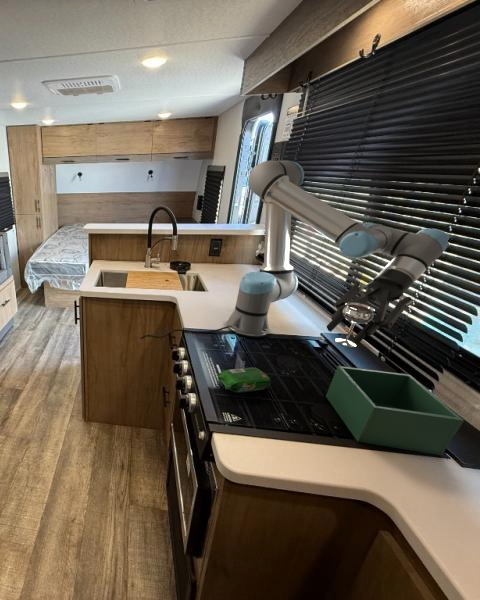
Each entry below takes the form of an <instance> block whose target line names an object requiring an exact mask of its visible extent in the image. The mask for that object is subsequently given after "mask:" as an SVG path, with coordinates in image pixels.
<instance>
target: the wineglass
mask: <svg viewBox="0 0 480 600" xmlns="http://www.w3.org/2000/svg"><path fill="white" fill-rule="evenodd" d="M376 311H377V310H376V308H375V307H373V306H372V305H370V304H366V303H363V304H362V303H357V302H350V301H349V302H347V303H346V307H344V309H343V316H344V317H345V318H344V319H345V320H346V321H348V322H349V323H350V327H349V330H348V332H347V335H346V338H341V337H337V338H335V342H336V343H337V344H339V345H341V346H344V347H349V348H356V347H357V343H355V341H352V340H350V339H349V338H350V335H351V334H352V332H353V329H354V327H355V326H357V325H363V324H367V323H368V322H369V321H372V319H374V313H375V312H376Z"/></svg>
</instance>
